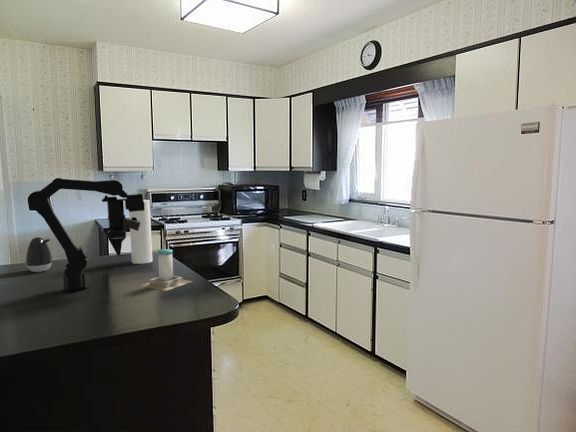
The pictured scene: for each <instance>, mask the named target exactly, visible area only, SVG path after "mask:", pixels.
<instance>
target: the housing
mask: <svg viewBox="0 0 576 432" xmlns="http://www.w3.org/2000/svg"><path fill="white" fill-rule="evenodd" d="M193 282H194V281H193V280H188V279H184V276H179V275H173V280H170V281H167V282H164V281H159V276H157V277H154V278H151V279H148V282H147V283H144V284H141V285H139V286H140V287H144V288H145V287H146V288H149V289H154V290H160V291H164V292H168V291H171V290H173V289H176V288H178V287H181V286H184V285H187V284H190V283H193Z"/></svg>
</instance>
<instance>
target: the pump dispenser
mask: <svg viewBox="0 0 576 432" xmlns="http://www.w3.org/2000/svg"><path fill="white" fill-rule="evenodd" d="M48 242H50V239H49V238H47V239H44V238H43V237H39V236H36V237H33V238H32V239H31V240H30V241H29V244H28V246H27V249H26V254H25V265H26V268H27V269H28V271H30V272H32V273H43V271H44V272H46V271H48V270H49V269H50V268H51V267H52V263H53V256H52V252H51V250H50V249H51V248H50V247H49V245H48Z"/></svg>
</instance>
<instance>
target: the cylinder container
mask: <svg viewBox="0 0 576 432" xmlns="http://www.w3.org/2000/svg"><path fill="white" fill-rule="evenodd" d="M143 201H144V211H134V212H129V211H128V215H129V217H128V219H131V218H132V217H135V218H137V221H139V222H140V226H139V230H138V231H136V230H134V229H130V228H129V232H130V234H129V235H130V250H131V264H135V265H137V264H139V265H141V264H149V263H152V262H153V247H152V246H153V244H152V240H153V239H152V224H151V202H150V199H143Z"/></svg>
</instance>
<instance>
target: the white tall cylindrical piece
mask: <svg viewBox="0 0 576 432" xmlns="http://www.w3.org/2000/svg"><path fill="white" fill-rule="evenodd" d="M173 253H174V250H173V249H171V248H169V249H168V248H166V249H164V248H163V249H159V250H157V256H158V257H157V259H158V261H157V262H158V277H159V281H164V282H167V281H170V280H173V276H174V264H173V263H174V262H173V260H174V259H173Z"/></svg>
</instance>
